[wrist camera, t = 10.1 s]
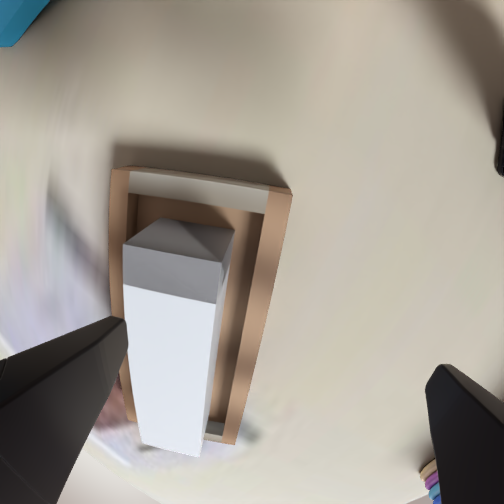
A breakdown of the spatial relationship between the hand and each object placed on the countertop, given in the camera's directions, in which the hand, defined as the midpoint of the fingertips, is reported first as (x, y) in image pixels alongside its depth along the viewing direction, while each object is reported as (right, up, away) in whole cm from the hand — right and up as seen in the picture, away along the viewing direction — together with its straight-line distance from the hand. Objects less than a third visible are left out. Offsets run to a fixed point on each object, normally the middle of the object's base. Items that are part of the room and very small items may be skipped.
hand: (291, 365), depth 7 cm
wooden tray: (-5, -2, +13) cm, 15 cm away
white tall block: (-5, -3, +12) cm, 14 cm away
